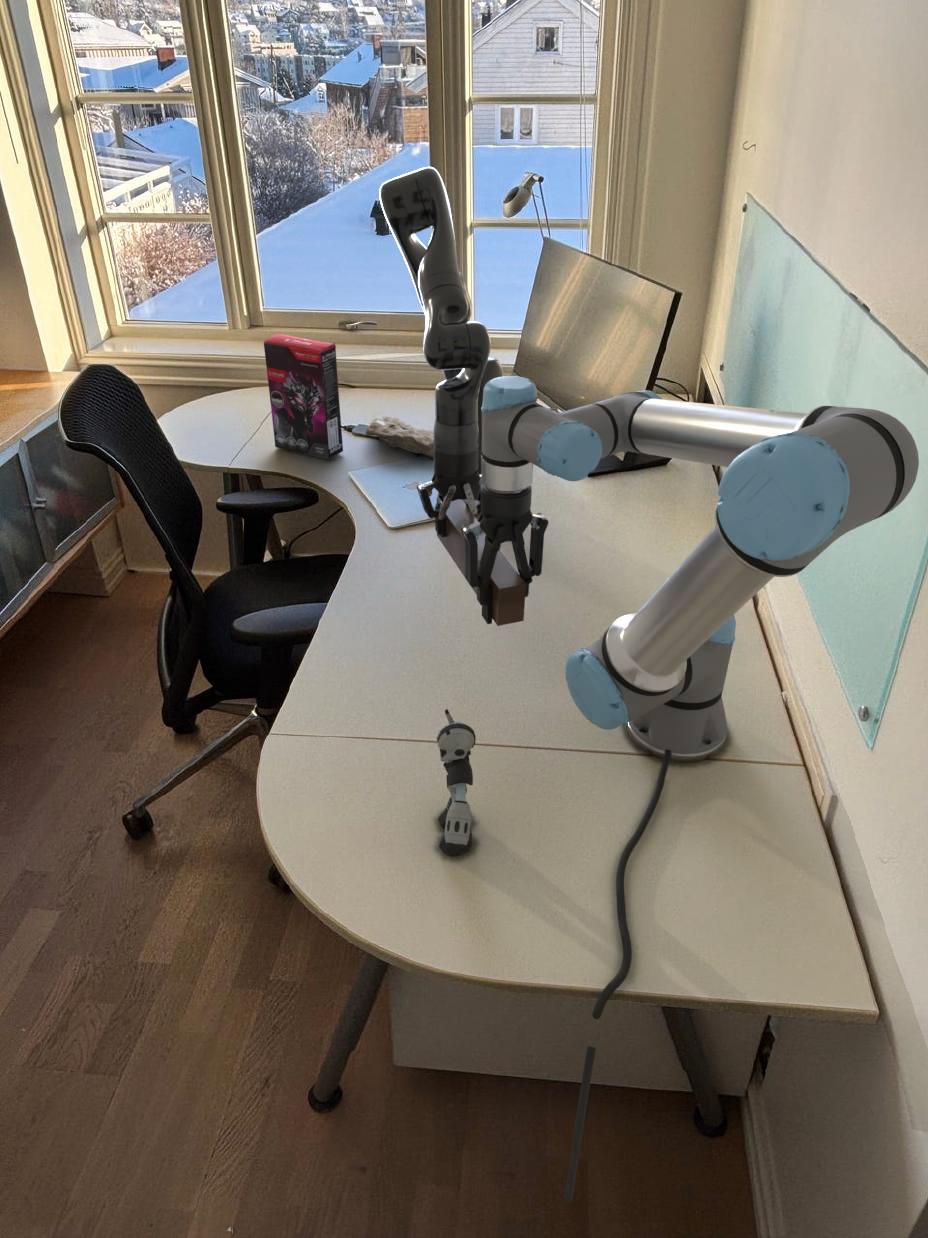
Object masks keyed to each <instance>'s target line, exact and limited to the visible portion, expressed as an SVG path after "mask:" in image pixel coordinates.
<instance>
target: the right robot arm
mask: <svg viewBox="0 0 928 1238" xmlns="http://www.w3.org/2000/svg"><path fill="white" fill-rule="evenodd" d="M537 390H538V389H537V386H536V384H535V383H534V381H533V380H531V379H529V378H527V377H524V376H517V375H503V376H502V377H498V378H494V379H492V380H490V381H488V382H487V383H486V385H485V387H484V391H483V403H482V408H481V412H482V464H481V481H482V483H483V484H482V485H481V511H480V514H479V516H478V518H477V520H478V522H476V523H474V524H472V525H470V526H468V525H466V524H465V525H463V526H462V527H461V530H462V533H463V535H464V537H465V577H464V579H465V580H466V582H467V583H468V585H469V586H470V587H471V589H472V588H474V587H477V595H476V600H477V602H478V603H479V605H480V606H481V617H482V618H483V620H484V621H485V623H486V624H487V625H491V624H493V619H492V602H493V588H492V587H491V585H490V584H489V581H490V578H491V574H492V570H493V566H494V563H495V559H496V555H497V552H498V551H499V550H501V546H502V544H504V543H507V542H510V543H511V546H512V551H513V555H514V559H515V565H516V569H517V573H518V574H519V575H520V577H521V578H522V579H523V581H524V582H525V583H526V592H525V598H528V596H529V595H530V584H532V583H533V581H534V580H533V578H534V577H539V576H541V575H542V573H543V572H542V570H543V556H544V543H545V532H546V530H547V528H548V525H549V520H548V518H547V517H546V516H545V515H543V513H542V512H538V513H533V512H532V510H531V508H532V494H533V493H532V492H533V487H532V484H533V477H534V476H533V473H534V466H536V467H538V468H539V469H540V470H542V471H544V472H546V473H547V474H549V475H551V476H553V477H555V476H556V477H557V478H561V479H562V480H565V481H568V482H579V481H582V480H584V479H586V478H587V477H588V475H589V474H591V472H594V471H595V469H596V468H597V467H598V464H599V463H600V461H601V459H604V458H607V457H611V456H613V455H616V454H619V453H622V452H623V453H624V452H630V453H635V454H642V455H651V456H657V457H662V458H669V459H674V460H675V459H676V460H681V461H686V462H692V463H698V464H699V463H700V464H703V465H704V464H705V465H711V466H716V467H723V468H726V469H725V471H724V473H723V475H722V477H721V479H720V483H719V486H718V490H717V495H718V496H720V498H719V500H718V501H717V504H716V505H715V509H714V521H715V522H714V523H715V525H714V526H713V527H712V528H711V530H710V531H708V532H707V533H706V535H705V536H704V537H703V539H701V540H700V542H699V543H698V544H697V545H696V546H695V547H694V548H693V549H692V550H691V552H690V553H689V554H688V555H687V556H686V557H685V558H684V559H683V560H682V562H681V563H680V564H679V566H677V567H676V569H675V570H674V571H673V572H672V573H671V574H670V575H669V577H668V578H667V579H666V580H665V581H664V582H663V583H662V585H661V586H660V587H659V588H658V589H657V590H656V591H655V592H654V593H653V594H652V596H651V597H650V598H649V599H648V600H647V601H646V602H645V603H644V604H643V606H642V607H641V608H640V609H639V610H638V612H637V613H636V612H634V613H628V614H624V615H621V616H620V617H618V618H616V620H614V621H613V622H612V624H610V626H609V627H608V628H607V629H606V631H604V632H603V633H602V635H601V636H600V637H599V638H598V639H597V640H596V641H594V642H593V643H591V644H590V645H589V646H586V647H581V648H578V649H577V651H575V652H574V653H572V654H570V655H569V657H568V658H567V660H566V663H565V668H564V670H565V671H564V672H565V673H564V674H565V676H564V677H565V680H566V685H567V689H568V691H569V694H570V696H571V698H572V700H573V703H574V704H575V706H576V708H577V709H578V710H579V712H580V713H581V714H582V716H584V717H585V719H586V720H587V721H589V722H590V723H591V724H592V725H595V726H596V727H598V728H599V729H602V730H606V731H607V730H615V729H617V728H620V727H625V728H626V732H627V734H628V736H629V738H630V739H631V741H632V742H634V744H636V745H637V746H638V747H639V748H640V749H641V750H643V751H645V752H646V753H648V754H650V755H651V756H654V757H656V758H659V759H662V761H661V765H660V768H659V772H658V777H657V780H656V785H655V789H654V791H653V793H652V797H651V799H650V802H649V804H648V806H647V808H646V810H645V812H644V815H643V816H642V818H641V821H640V822H639V824H638V827H637V828H636V830H635V832H634V833H633V835H632V836H631V838H630V840H629V841H628V842H627V844H626V846H625V847H624V849H623V851H622V853H621V856H620V858H619V861H618V864H617V868H616V869H617V870H616V875H615V876H616V878H615V892H616V907H617V908H616V909H617V922H618V929H619V933H620V938H621V943H622V962H621V966H620V968H619V971H618V972H617V974H616V975H615V976H614V977H613V978H612V979H611V981H610V982H608V984H607V985H605V987H604V988H603V989H602V991H601V992H600V994H599V995H598V997H597V999H596V1002H595V1003H594V1004H595V1005H594V1007H593V1010H592V1013H591V1016H592V1018H593V1019H594V1020H599V1019H600V1018H601V1016H602V1014H603V1011H604V1009H605V1006H606V1004H607V1002H608V1000H609V999H610V997H611V996H612V995H613V994H614V992H615V991H616V990H617V989H618V988H620V986H621V985H622V983H623V982H624V981H625V980H626V979H627V976H628V975H629V974H628V973H629V971H630V969H631V963H632V956H633V955H632V951H633V949H632V943H631V942H632V941H631V937H630V931H629V927H628V921H627V911H626V909H627V908H626V898H625V897H626V896H625V894H626V893H625V872H626V867H627V864H628V860H629V859H630V855H631V854H632V852H633V851H634V849H635V847H636V845H637V844H638V843H639V841H640V840H641V838H642V836H643V834H644V833H645V830H646V829H647V826H648V825H649V824H650V823H649V822H650V821H651V818H652V817H653V815H654V812H655V810H656V808H657V806H658V803H659V800H660V798H661V795H662V792H663V788H664V785H665V781H666V778H667V777H666V776H667V773H668V768H669V764H670V762H675V763H694V762H700V761H703V760H706V759H709V758H711V757H714V755H716V754H718V752H720V751H721V750H722V748H723V747H724V744H725V743H726V740H727V739H726V738H727V734H728V721H727V716H726V712H725V708H724V707H725V706H724V701H723V692H724V686H725V682H726V678H727V674H728V668H729V664H730V659H731V654H732V651H733V650H732V649H733V646H734V643H735V641H736V627H737V621H736V617H735V615H736V614H737V613H738V612H739V611H740V610H741V609H742V608H743V607H744V606H745V605H746V604H747V603H748V602H749V601H751V599H752V598H754V596H755V595H757V594H758V593H759V592H760V591H761V590H762V589H763V588H764V587H765V586H766V585H767V584H768V583H769V582H770V581H772V580H773V579H774V578H775V577H776V578H787V577H792V576H795V575H797V574H799V573H800V572H802V571H803V570H804V569H805V568H807V566H809V565H810V563H812V562H813V561H814V560H816V558H818V557H819V556H820V555H821V554H822V553H823V552H824V551H825V550H827V548H829V547H830V546H831V545H832V544H833V543H834V542H835V541H837V540H838V539H840V538H841V537H842V536H843V535H846V534H847V533H849V532H850V531H853V530H855V529H858V528H859V527H861V526H863V525H866V524H868V523H870V522H873V521H874V520H877V519H879V518H882V517H883V516H885V515H887V514H888V513H890V512H892V511H893V510H894V509H896V508H897V507H898V506H899V505H901V504H902V503H903V502H904V501H905V499H906V497H907V496H908V495H909V494H910V492H911V490H912V489H913V487H914V485H915V483H916V479H917V476H918V472H919V467H920V459H919V450H918V447H917V444H916V441H915V439H914V437H913V435H912V433H911V432H910V431H909V429H908V428H907V427H906V425H905V424H904V423H902V421H900V420H899V419H898V418H897V417H894V416H892V414H889V413H887V412H884V411H881V410H878V409H873V408H865V407H851V406H850V407H849V406H838V405H837V406H836V405H819V406H816V407H814V408H813V409H811V410H810V411H809V412H801V411H800V412H799V411H787V410H780V409H779V410H777V409H767V408H757V407H747V406H734V405H726V404H714V403H713V404H712V403H704V402H692V401H681V400H672V399H662V397H661V396H659V395H657V394H656V392H654V391H652V390H647V389H642V390H638V391H637V390H636V391H627V392H624V393H623V394H622V393H621V394H619V395H617V396H613V397H611V398H607V399H603V400H600V401H596V402H594V403H590V404H586V405H582V406H578V407H576V408H572V409H568V410H565V411H560V412H558V411H554V410H552V409H550V408H548V407H545V406H543V405H541V404H539V403H538V402H537V401H538V399H539V398H538V391H537ZM529 526H530V534H529V535H530V536H529V537H530V538H529V555H528V557H527V553H526V548H525V547H526V546H525V544H526V543H525V538H524V533H525V532H526V530H527V528H528V527H529ZM480 530H483V531H484V532H485V534H486V536H485V545H484V549H483V553H482V557H481V561H480V565H479V568H478V544H477V539H479V532H480ZM596 1052H597V1047H595V1046H590V1045H587V1047H586V1053H585V1059H584V1063H583V1064H584V1065H583V1069H582V1077H581V1082H580V1090H579V1096H578V1102H577V1107H576V1109H577V1110H576V1116H575V1122H574V1129H573V1136H572V1143H571V1150H570V1151H571V1152H570V1158H569V1166H568V1172H567V1178H566V1179H567V1180H566V1186H565V1193H564V1202H565V1203H566V1204H568V1205H569V1204H572V1202H573V1198H574V1197H573V1196H574V1191H575V1184H576V1179H577V1178H576V1177H577V1170H578V1164H579V1157H580V1150H581V1145H582V1138H583V1132H584V1124H585V1118H586V1110H587V1107H588V1106H587V1105H588V1099H589V1093H590V1087H591V1080H592V1075H593V1069H594V1063H595V1056H596Z"/></svg>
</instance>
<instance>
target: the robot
mask: <svg viewBox="0 0 928 1238" xmlns="http://www.w3.org/2000/svg"><path fill="white" fill-rule="evenodd" d="M444 713H445V717H446V719H447V723H448V724H445V726H444V727H443V728H441V729H440V730H439V731H438V733H437V736H436V743H437V747H438V748H439V760H440V761H441V762H442V763H443V764H442V765H443V767H444V770H445V771H446V777H445V778H446V788H447V789H448V792H449V793H450V797H449V799H448V801H447V804H446V806H445V808H444V810H443V812H441V813H440V814H439V816H438V818H437V821H438V823H439V825H440V827H441V828H442V829H443V830H444V833H443V835H442V837H441V839H440V843H439V845H438V848H439V849H440V850H441V851H442V852H443V853H444V855H449V856H451V857H452V856H453V857H454V856H460V855H462V854H465V853H467V852H469V851H471V848H472V845H473V834H472V830H471V827H472V817H473V816H472V810H471V806H470V804H469V803H468V801H467V797H466V796H467V793H468V787H467V785H469V786H473V785H474V776H473V768H472V765H471V763H470V756H471V755H472V751H471V749H472V748H474V747H475V745H476V741H477V738H476V733H475V730H474V729H473V728H472V727H471V726H470V725H468V724H466V723H464V722H461V721H455V720H454V719H453V716H452V714H451V713H450V711H449V709H448V708H446V709H445V710H444Z"/></svg>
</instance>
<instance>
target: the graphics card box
mask: <svg viewBox="0 0 928 1238" xmlns="http://www.w3.org/2000/svg"><path fill="white" fill-rule="evenodd" d="M336 347H337V345H336V343H335V342H326V341H321V340H314V339H309V338H304V337H299V336H295V335H294V336H293V335H288V334H283V333H277V334H275V335H272V336H270V337H268V338H266V339H265V340H264V341H263V350H264V357H265V358H264V360H265V367H266V373H267V374H266V376H267V383H268V394H269V401H270V410H271V411H270V412H271V420H272V429H273V438H274V446H275V448H277V449H282V450H286V451H290V452H295V453H299V454H302V455H303V454H304V455H308V456H311V457H315V458H320V459H324V460H330V459H332V458H334V457H336V456H338V455H339V454H341V453H342V452H344V445H343V432H342V418H341V404H340V392H339V379H338V378H339V375H338V362H337V348H336Z"/></svg>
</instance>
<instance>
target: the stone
mask: <svg viewBox="0 0 928 1238" xmlns="http://www.w3.org/2000/svg"><path fill="white" fill-rule="evenodd" d="M365 435H366V436H368V437H370V436H376V437H378V439H379V440H380V441H383V442H387V443H388V446H390V447H392V448H397V447H399V448H401V449H403V450H406V451H409V452H411V453H413V454H419V455H420V454H422V455H425V456H427V457H431V458H434V430H428V429H424V428H416V427H413V426H411V424H406V423H405V422H404V421H402V420H399V418H396V417H391V416H383V417H375V418H374V419H371V422H369V424H368V426H367V428H366V430H365Z"/></svg>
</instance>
